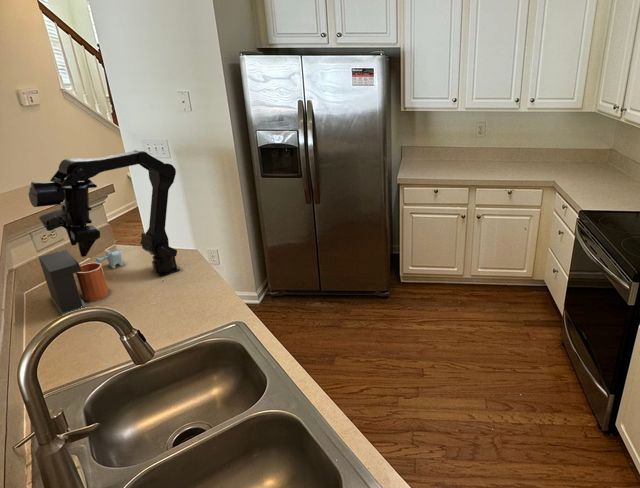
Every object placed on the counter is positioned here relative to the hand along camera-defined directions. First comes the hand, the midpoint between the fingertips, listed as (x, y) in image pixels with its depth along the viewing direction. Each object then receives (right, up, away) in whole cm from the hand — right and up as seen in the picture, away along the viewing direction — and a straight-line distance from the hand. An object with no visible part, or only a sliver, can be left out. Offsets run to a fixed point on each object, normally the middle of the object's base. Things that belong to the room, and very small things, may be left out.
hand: (78, 250), depth 131 cm
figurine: (-7, -8, +25) cm, 27 cm away
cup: (0, -15, +7) cm, 17 cm away
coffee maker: (-5, -17, +2) cm, 17 cm away
